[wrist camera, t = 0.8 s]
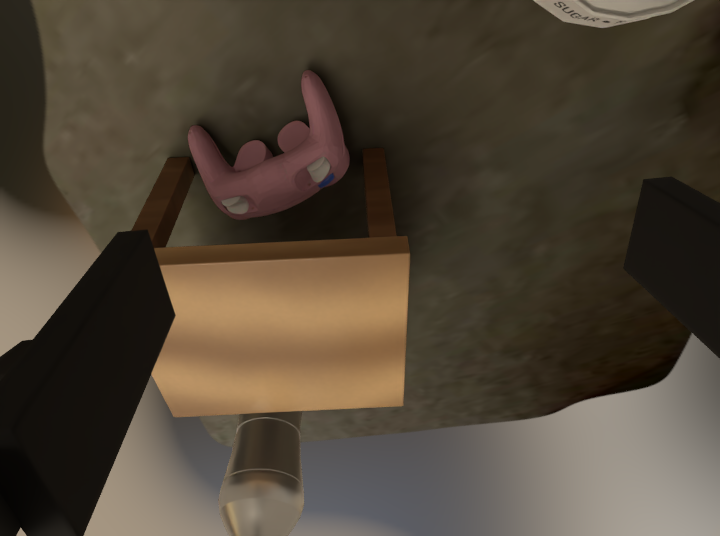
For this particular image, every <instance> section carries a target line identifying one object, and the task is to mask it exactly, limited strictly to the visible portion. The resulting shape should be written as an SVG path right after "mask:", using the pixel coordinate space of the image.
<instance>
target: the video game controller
mask: <svg viewBox="0 0 720 536" xmlns="http://www.w3.org/2000/svg"><path fill="white" fill-rule="evenodd" d="M301 87H302V94H303V98H304V101H305V105H306V109H307V112H308V117H309V124H310V128H308V127H307V126H306V125H305V124H304V123H303V122H301V121H293V122H290V123H289V124H287V125H286V126H285V127H284V128H283V129H282V130H281V131H280V133H279V135H278V145H279V147H280V148H281V150H282V151H283V152H284V153H283V154H281V155H278V156H276V157H273V155H272V153H271V151H270V150H269V149H268V148H267V147H266V145H265V144H264V143H263V142H261V141H258V140H253V141H249V142H247V143H246V144H244V145H243V146H242V147H241V149H240V150H239V153H238V155H237V159H236V162H235V165H234V166H233V167H231V166H230V165H229V164H228V163H227V162H226V161H225V160H224V158H223V156H222V154H221V153H220V151H219V149H218V147H217V146H216V144H215V142H214V141H213V140H212V138H211V137H210V135H209V134H208V133H207V132H206V131H205V130H204V129H203V128H202V127H201V126H198V125H193V126H191V127H190V129H189V133H188V143H189V147H190V150H191V153H192V156H193V158H194V161H195V163H196V166H197V168H198V170H199V173H200V175H201V177H202V180H203V182H204V184H205V187H206V189H207V191H208V193H209V195H210V197H211V199H212V200H213V201H214V203H215V204H216V205H217V207H218V208H219V209H220V210H221V211H222V212H224V213H225V214H227V215H228V216H230V217H231V218H233V219H237V220H245V219H248V218H250V217H260V216H267V215H270V214H274V213H277V212H280V211H283V210H286V209H288V208H290V207H292V206H294V205H297V204H299V203H301V202H302V201H304V200H306V199H307V198H309V197H311V196H312V195H314V194H315V193H317V192H318V191H319V190H321V189H322V188H323V187H327V186H331V185H333V184H335V183H336V182H337V181H339V180H340V179H341V178H342V177H343V176H344V174H345V173H346V171H347V169H348V167H349V160H350V158H349V152H348V150H347V148H346V146H345V145H344V137H343V133H342V129H341V125H340V121H339V118H338V115H337V113H336V110H335V108H334V105H333V103H332V100H331V98H330V96H329V94H328V92H327V90H326V88H325V86H324V84H323V82H322V81H321V79H320V78H319V76H318V75H317V74H315V73H314V72H312V71H310V70H306V71H304V72H303V75H302V80H301Z"/></svg>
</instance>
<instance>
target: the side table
mask: <svg viewBox="0 0 720 536" xmlns="http://www.w3.org/2000/svg"><path fill="white" fill-rule="evenodd" d="M362 154H363V174H364V187H365V201H366V214H367V227H368V238H353V239H332V240H311V241H290V242H269V243H249V244H228V245H207V246H186V247H166V245H167V242H168V240H169V237H170V235H171V232H172V230H173V227H174V225H175V223H176V220H177V218H178V215H179V213H180V210H181V208H182V205H183V203H184V200H185V198H186V195H187V193H188V190H189V188H190V185H191V183H192V180H193V178H194V172H193V168H192V165H191V162H190V158H189V157H179V158H168V159H167V161H166V163H165V165H164V167H163V169H162V171H161V173H160V175H159V177H158V179H157V181H156V183H155V185H154V187H153V189H152V191H151V193H150V195H149V197H148V199H147V201H146V203H145V205H144V207H143V209H142V211H141V213H140V214H139V216H138V218H137V220H136V222H135V224H134V226H133V228H132V230H131V231H136V230H146V229H148V232H149V235H150V238H151V241H152V244H153V247H154V250H155V253H156V257H157V260H158V263H159V266H160V269H161V272H162V275H163V278H164V281H165V284H166V287H167V290H168V293H169V296H170V300H171V303H172V306H173V309H174V312H175V315H176V316H175V319H174V321H173V323H172V326H171V328H170V331H169V333H168V335H167V338H166V340H165V342H164V345H163V347H162V350H161V352H160V354H159V357H158V359H157V361H156V364H155V366H154V369H153V371H152V373H151V374H152V376H153V378H154V380H155V382H156V384H157V386H158V388H159V389H160V391H161V393H162V395H163V397H164V399H165V401H166V403H167V405H168V406H169V408H170V410H171V412H172V414H173V416H174V417H187V416H209V415H229V414H249V413H269V412H290V411H310V410H330V409H350V408H371V407H391V406H403V400H404V379H405V357H406V336H407V315H408V293H409V272H410V249H409V243H408V237H407V236H397V235H396V228H395V221H394V214H393V208H392V201H391V194H390V187H389V180H388V173H387V166H386V160H385V153H384V148H371V149H363V150H362Z"/></svg>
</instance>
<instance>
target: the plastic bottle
mask: <svg viewBox="0 0 720 536" xmlns="http://www.w3.org/2000/svg"><path fill="white" fill-rule="evenodd" d="M301 416H302V411H290V412H269V413H249V414H239V421H238V426H237V431H236V432H237V434H236V436H235V440H234V445H233V451H232V454H231V458H230V461H229V464H228V467H227V470H226V474H225V477H224V480H223V484H222V487H221V491H220V495H219V499H218V501H219V509H220V516H221V519H222V521H223V524H224V526H225V529H226V530H227V532H228V534H229V536H288V535H289V534H290V532H291V531H292V529H293V528H294V526H295V525H296V523H297V522H298V520H299V519H300V516H301V513H302V509H303V506H304V491H303V480H302V469H301V459H300V423H301Z"/></svg>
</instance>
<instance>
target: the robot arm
mask: <svg viewBox="0 0 720 536" xmlns="http://www.w3.org/2000/svg"><path fill="white" fill-rule="evenodd" d="M623 269H624V270H626V271H627V272H628V273H629V274H630V275H631V276H632V277H633V278H634V279H635V280H636V281H637V282H638V283H639V284H641V285H642V286H643V287H644V288H645V289H646V290H647V291H648V292H649V293H650V294H651V295H652V296H653V297H654V298H656V299H657V300H658V301H659V302H660V303H661V304H662V305H663V306H664V307H665V308H666V309H667V310H668V311H669V312H671V313H672V314H673V315H674V316H675V317H676V318H677V319H678V320H679V321H680V322H681V323H682V324H683V325H684V326H685V327H687V328H688V329H689V330H690V331H691V332H692V333H693V334H694V335H695V336H696V337H697V338H699V339H700V341H702V342H703V343H704V344H705V345H706V346H707V347H708V348H709V349H710V350H711V351H712V352H713V353H714V354H716V355H717V356H718V357H719V358H720V203H719V202H717V201H715V200H713V199H711V198H709V197H708V196H706V195H704V194H702V193H700V192H699V191H697V190H695V189H693V188H691V187H689V186H688V185H686V184H684V183H682V182H680V181H679V180H677V179H675V178H673V177H664V178H654V179H644V180H643V184H642V188H641V193H640V197H639V202H638V206H637V210H636V215H635V219H634V224H633V228H632V232H631V237H630V241H629V246H628V250H627V254H626V259H625V263H624V268H623ZM175 316H176V315H175V312H174V309H173V306H172V303H171V300H170V296H169V293H168V290H167V287H166V284H165V281H164V278H163V275H162V272H161V269H160V266H159V263H158V260H157V257H156V253H155V250H154V247H153V244H152V241H151V238H150V235H149V232H148V229H146V230H136V231H126V232H118V233H117V234H116V235H115V237H114V238H113V239H112V240H111V242H110V243H109V244H108V245H107V247H106V248H105V249H104V250H103V252H102V253H101V254H100V256H99V257H98V258H97V259H96V261H95V262H94V263H93V264H92V266H91V267H90V268H89V269H88V271H87V272H86V273H85V274H84V276H83V277H82V278H81V280H80V281H79V282H78V283H77V285H76V286H75V287H74V289H73V290H72V291H71V292H70V293H69V295H68V296H67V297H66V299H65V300H64V301H63V302H62V304H61V305H60V306H59V307H58V309H57V310H56V311H55V313H54V314H53V315H52V316H51V318H50V319H49V320H48V321H47V323H46V324H45V325H44V326H43V328H42V329H41V330H40V331H39V333H38V334H37V335H36V336H35V338H34V339H33V340H26V341H21V342H20V343H19V344H17V345H16V346H14V347H13V348H12V349H10V350H9V351H8V352H6V353H5V354H4V355H2V356H1V357H0V536H16V535H17V533H18V531H19V529H20V527H21V528H22V530H23V531H24V532H25V534H26V535H27V536H83V535H84V533H85V530H86V528H87V525H88V523H89V521H90V519H91V516H92V513H93V511H94V509H95V507H96V504H97V502H98V499H99V497H100V495H101V492H102V490H103V487H104V485H105V483H106V480H107V478H108V476H109V473H110V471H111V468H112V466H113V464H114V461H115V459H116V456H117V454H118V452H119V449H120V447H121V445H122V442H123V440H124V438H125V435H126V433H127V430H128V428H129V425H130V423H131V421H132V418H133V416H134V414H135V411H136V409H137V406H138V404H139V402H140V399H141V397H142V395H143V392H144V390H145V388H146V385H147V383H148V380H149V378H150V376H151V373H152V371H153V369H154V366H155V364H156V361H157V359H158V357H159V354H160V352H161V350H162V347H163V345H164V342H165V340H166V338H167V335H168V333H169V331H170V328H171V326H172V323H173V321H174V319H175Z"/></svg>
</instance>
